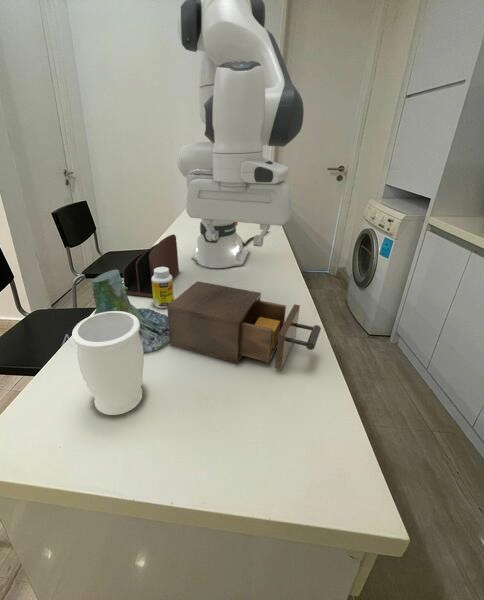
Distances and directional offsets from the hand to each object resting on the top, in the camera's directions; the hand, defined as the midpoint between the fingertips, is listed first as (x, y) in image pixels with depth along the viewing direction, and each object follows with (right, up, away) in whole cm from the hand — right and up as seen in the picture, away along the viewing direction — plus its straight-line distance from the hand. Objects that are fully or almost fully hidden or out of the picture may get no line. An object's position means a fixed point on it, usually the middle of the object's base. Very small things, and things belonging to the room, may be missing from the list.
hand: (235, 242), depth 66 cm
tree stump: (-23, -20, +11) cm, 32 cm away
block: (+7, -20, +3) cm, 22 cm away
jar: (-22, -29, -7) cm, 37 cm away
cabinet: (-3, -20, +9) cm, 22 cm away
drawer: (+7, -21, +3) cm, 23 cm away
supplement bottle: (-16, -13, +24) cm, 32 cm away
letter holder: (-21, -6, +37) cm, 43 cm away
